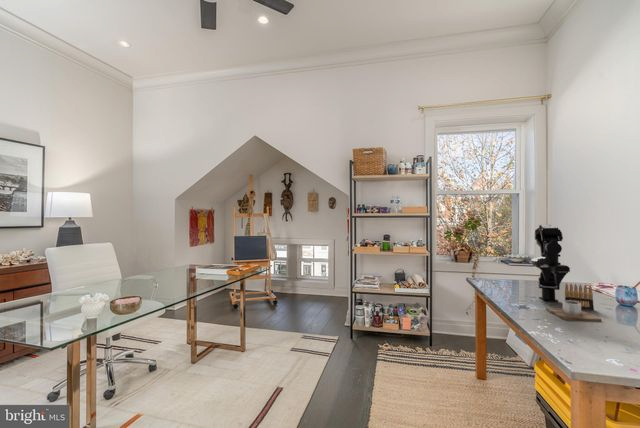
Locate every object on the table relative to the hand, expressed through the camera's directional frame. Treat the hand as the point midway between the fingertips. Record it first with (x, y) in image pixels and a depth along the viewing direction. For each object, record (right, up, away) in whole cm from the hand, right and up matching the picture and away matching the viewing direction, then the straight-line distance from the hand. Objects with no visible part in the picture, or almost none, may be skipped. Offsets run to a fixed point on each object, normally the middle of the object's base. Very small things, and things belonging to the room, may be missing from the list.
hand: (551, 282), depth 147 cm
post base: (-1, -12, -13) cm, 18 cm away
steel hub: (-1, -11, -13) cm, 17 cm away
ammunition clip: (+11, -12, -3) cm, 17 cm away
